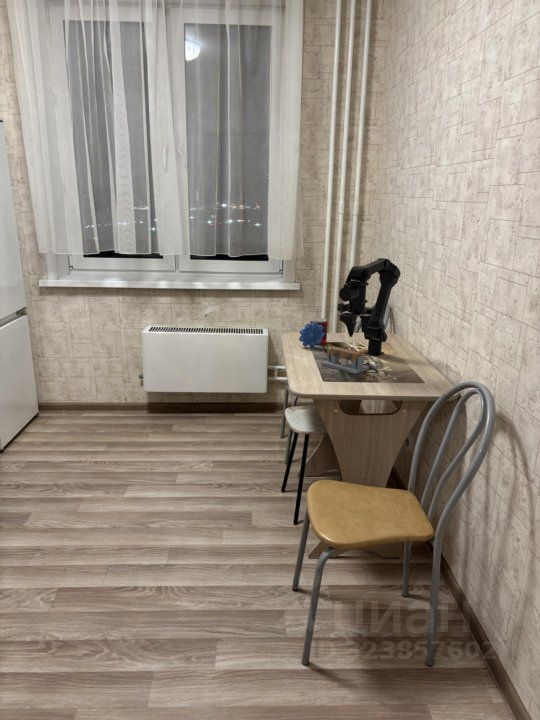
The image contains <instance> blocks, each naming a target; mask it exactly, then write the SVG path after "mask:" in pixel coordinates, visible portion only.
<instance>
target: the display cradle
mask: <svg viewBox="0 0 540 720" xmlns="http://www.w3.org/2000/svg"><path fill="white" fill-rule="evenodd" d="M326 355H327V356H326V360H324V361H321V366H323V367H328V368H332V369H336V370H340V371H342V370H343V372H346V371H347V373H351V374H355V375H358V374H360V373H362V372H365V371H367V370H369V368H370V367H369V365H365V364H364V363H365V355H361V356H360V357H358V361H357V362H355V361H351V360H347V359H343V358H339V357H335V356H331V355H330V348H329V349H327V354H326ZM357 373H358V374H357Z"/></svg>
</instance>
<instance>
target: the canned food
mask: <svg viewBox="0 0 540 720" xmlns="http://www.w3.org/2000/svg"><path fill="white" fill-rule="evenodd" d="M313 322H317V324H318V326H319V325H322V326H323V330H322V331H323V332H324V333H325V335H324V337H322V338H321V343H319V344H318V345H323V344H326V343H327V338H328V335H327V334H328V319H327V318H321V317H315V318H313V317H312V318H311V319H310V322H309V324H310V325H311V324H312V323H313ZM315 345H317V344H316V343H315Z"/></svg>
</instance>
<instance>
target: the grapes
mask: <svg viewBox="0 0 540 720" xmlns="http://www.w3.org/2000/svg"><path fill="white" fill-rule="evenodd" d="M322 330H323V326H322V325H319V326H318V324H317V322H313V323H312V324H311V325H310V323H306V324H305V325H304V328H302V329H300V331H299V335H300V336H299V337H298V340H299V342H302V346H303V347H310V348H313V347H315V346H316V345H320V344H319V343H321V338H322V337H324V335H325V333H324V332H323V331H322ZM315 343H316V344H315Z"/></svg>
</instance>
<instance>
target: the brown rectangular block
mask: <svg viewBox="0 0 540 720" xmlns="http://www.w3.org/2000/svg"><path fill="white" fill-rule="evenodd" d="M329 349H330V355H331V356H335V357H339V359H341V358H343V359H347V360H349V361H350V362H351V361H355V362H357V361H358V357H360V356H362V352H360V351H355V350H351V349H346V348H343V347H337V346H334V347H330V348H329Z"/></svg>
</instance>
